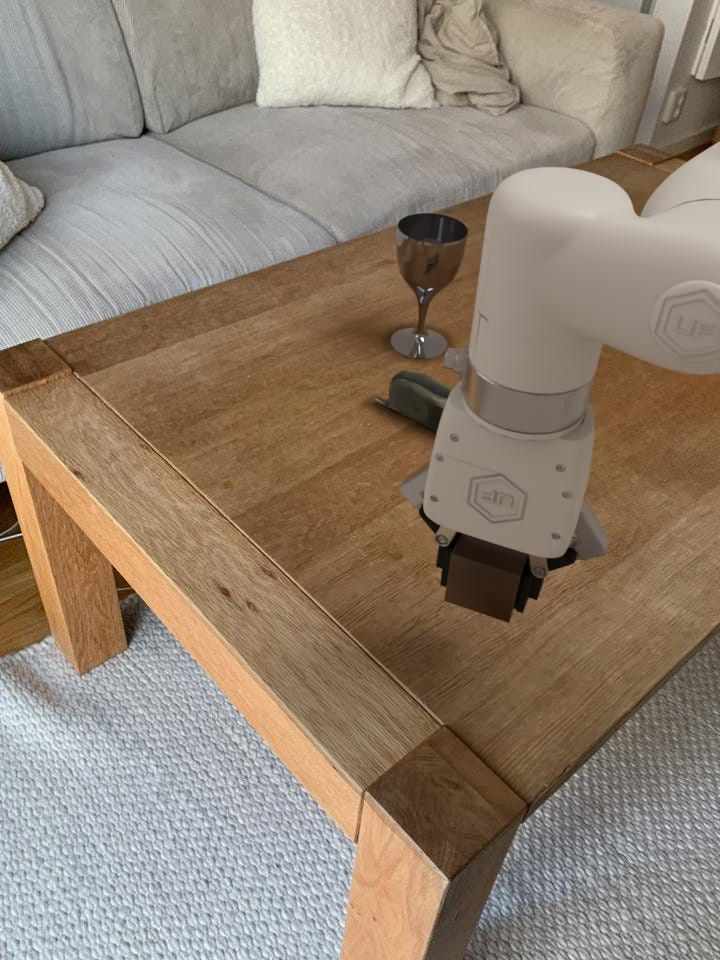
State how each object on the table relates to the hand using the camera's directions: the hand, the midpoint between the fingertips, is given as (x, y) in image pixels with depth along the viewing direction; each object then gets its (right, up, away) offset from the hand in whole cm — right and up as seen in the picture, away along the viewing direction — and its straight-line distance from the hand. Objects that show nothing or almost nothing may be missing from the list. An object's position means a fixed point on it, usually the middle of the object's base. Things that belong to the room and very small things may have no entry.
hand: (486, 584), depth 61 cm
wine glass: (-2, +25, +40) cm, 47 cm away
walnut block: (0, 0, 0) cm, 0 cm away
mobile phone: (-1, +14, +28) cm, 31 cm away
